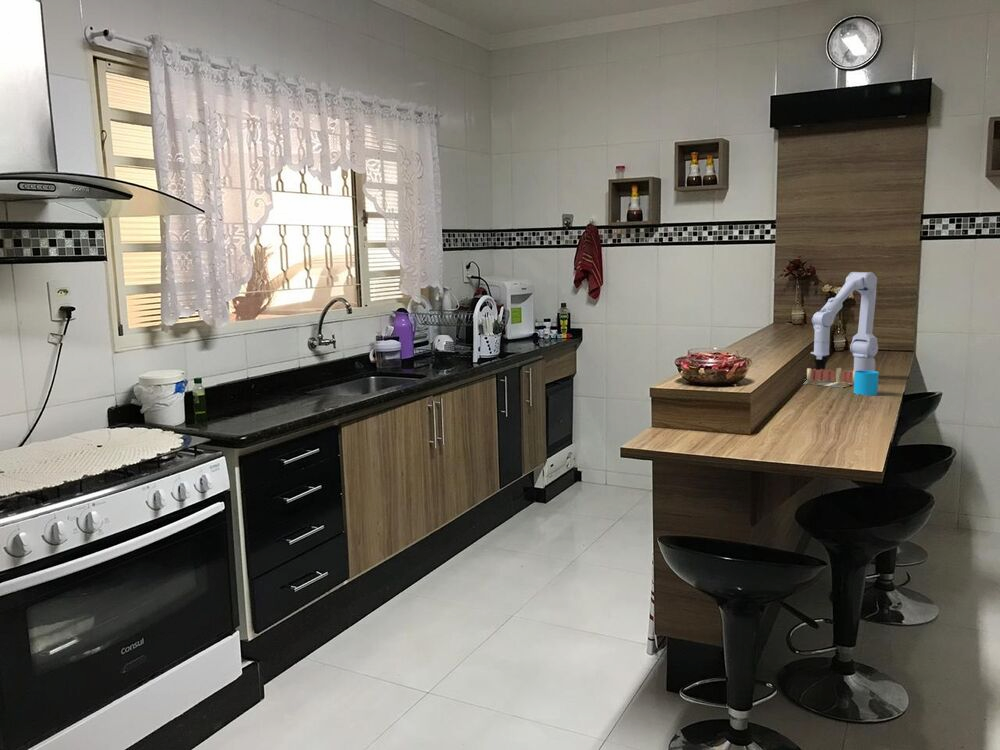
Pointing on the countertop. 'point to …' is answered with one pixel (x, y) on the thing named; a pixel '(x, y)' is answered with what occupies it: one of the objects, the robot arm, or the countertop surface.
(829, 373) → the fence panel
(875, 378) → the mug
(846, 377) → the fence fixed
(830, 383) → the board
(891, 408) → the countertop surface
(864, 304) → the robot arm
